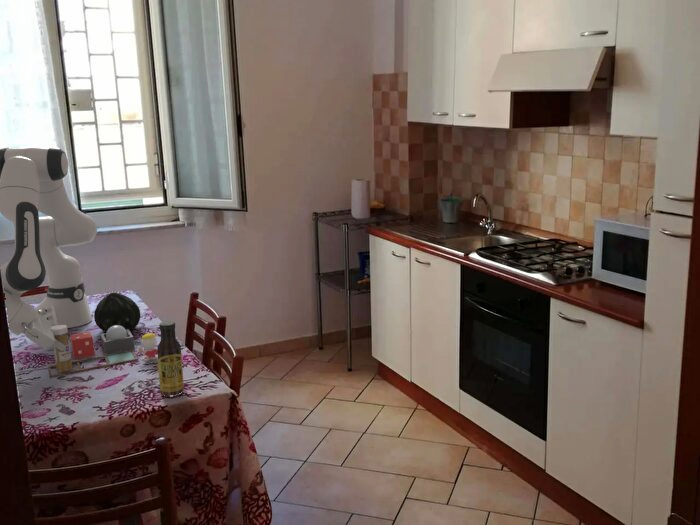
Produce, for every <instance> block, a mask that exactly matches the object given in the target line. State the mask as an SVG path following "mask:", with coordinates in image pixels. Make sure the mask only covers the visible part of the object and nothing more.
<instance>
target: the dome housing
mask: <svg viewBox="0 0 700 525" xmlns="http://www.w3.org/2000/svg"><path fill="white" fill-rule="evenodd" d="M126 331H127V337H125V338H120V339H114V340H109V341H107V339H106V333H107V332H106V333H100V341H101V347H102V349H103V351H104V353H105V355H109V354H114V353H119V352H124V351H130V350H134V349H135V339H134V335H133V334H132V332H131V331H129V329H126Z"/></svg>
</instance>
